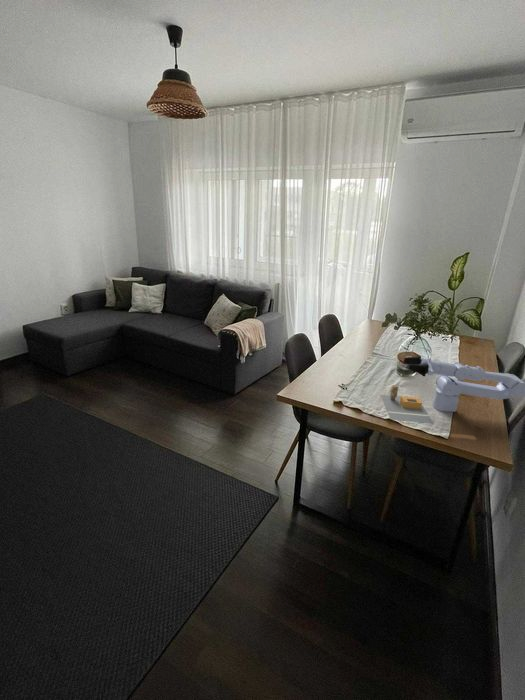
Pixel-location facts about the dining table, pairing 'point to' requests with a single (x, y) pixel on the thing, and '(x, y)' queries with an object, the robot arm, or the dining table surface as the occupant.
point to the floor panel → (404, 411)
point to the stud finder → (410, 402)
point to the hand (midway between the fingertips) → (406, 363)
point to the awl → (393, 392)
